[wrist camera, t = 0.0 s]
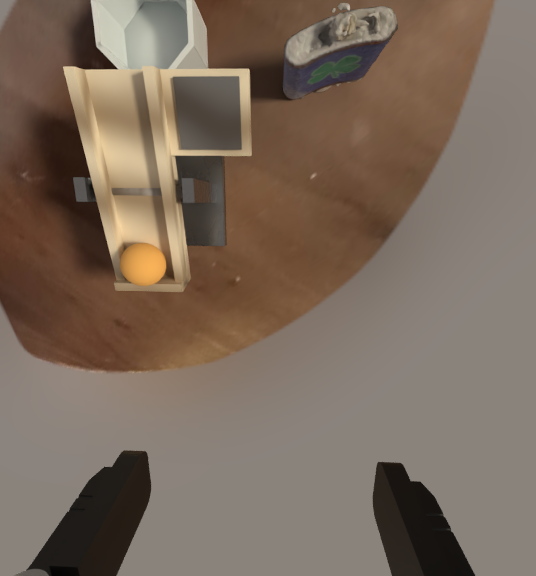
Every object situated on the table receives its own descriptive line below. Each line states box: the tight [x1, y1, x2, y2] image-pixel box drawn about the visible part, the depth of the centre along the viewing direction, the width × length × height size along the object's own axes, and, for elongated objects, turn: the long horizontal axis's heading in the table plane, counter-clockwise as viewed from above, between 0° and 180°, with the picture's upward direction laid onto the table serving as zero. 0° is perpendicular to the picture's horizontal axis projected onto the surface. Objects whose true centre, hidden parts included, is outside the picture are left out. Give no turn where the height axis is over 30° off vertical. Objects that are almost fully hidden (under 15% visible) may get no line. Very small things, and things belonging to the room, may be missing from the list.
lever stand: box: [73, 156, 227, 246], centre depth 32 cm, size 12×12×11 cm
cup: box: [91, 0, 208, 69], centre depth 30 cm, size 9×9×6 cm
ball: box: [120, 243, 166, 286], centre depth 29 cm, size 4×4×4 cm
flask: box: [283, 3, 398, 99], centre depth 28 cm, size 9×3×11 cm, turn 105°
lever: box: [63, 66, 252, 292], centre depth 27 cm, size 18×14×3 cm
